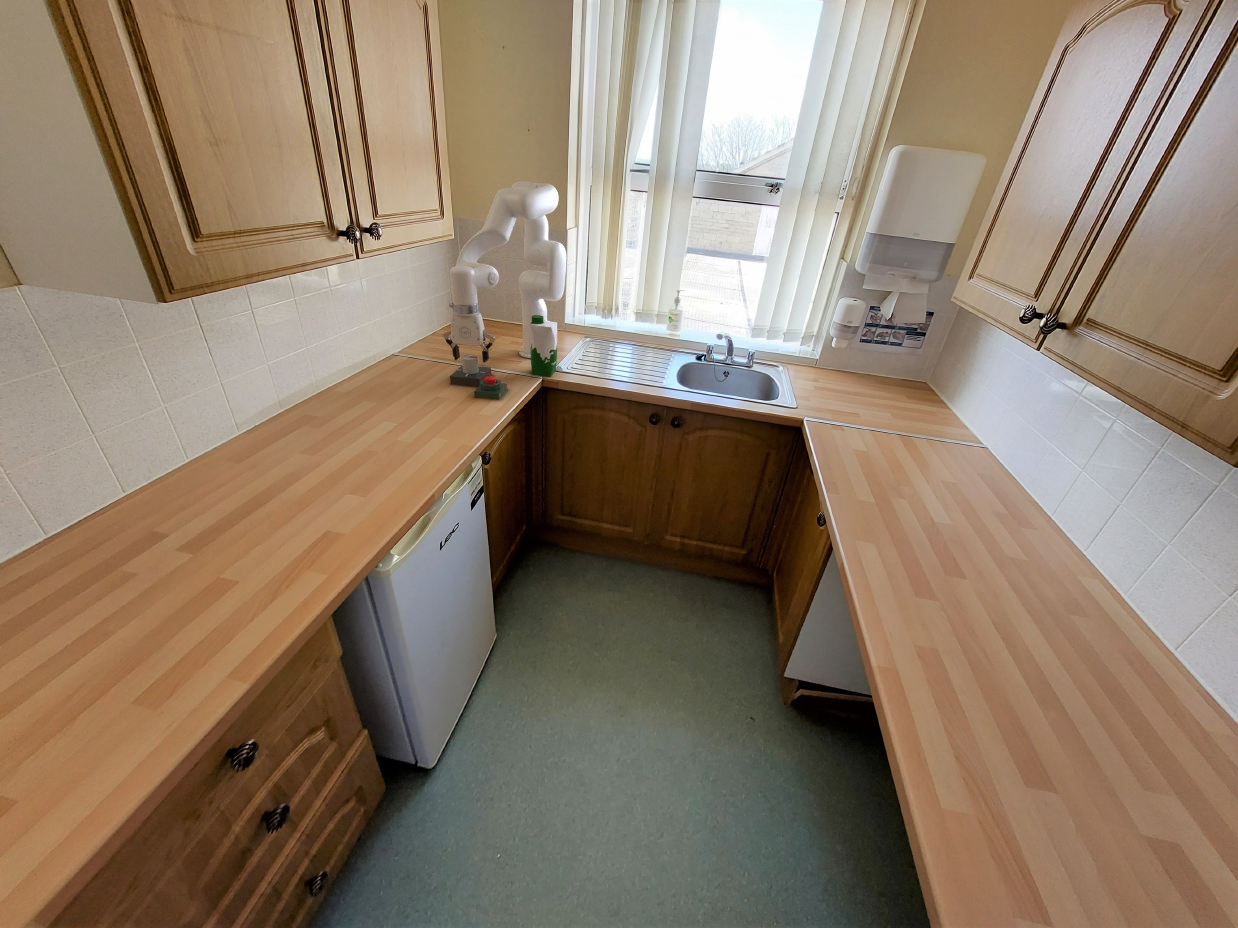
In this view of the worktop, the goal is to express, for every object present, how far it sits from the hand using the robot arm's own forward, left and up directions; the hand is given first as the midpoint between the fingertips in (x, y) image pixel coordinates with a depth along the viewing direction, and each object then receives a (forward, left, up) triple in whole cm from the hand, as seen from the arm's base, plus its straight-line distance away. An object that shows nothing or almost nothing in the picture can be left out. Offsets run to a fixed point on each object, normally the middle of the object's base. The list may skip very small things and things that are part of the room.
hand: (471, 360), depth 162 cm
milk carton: (-13, +22, -7) cm, 27 cm away
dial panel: (+1, 0, -7) cm, 7 cm away
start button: (+11, +10, -3) cm, 15 cm away
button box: (+11, +10, -7) cm, 16 cm away
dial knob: (+1, 0, -4) cm, 4 cm away
